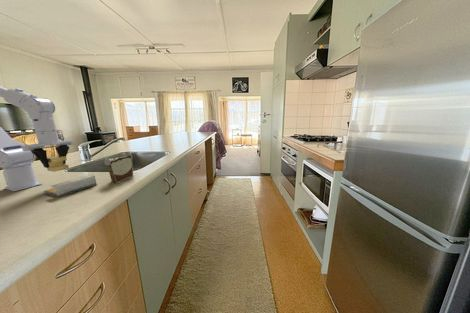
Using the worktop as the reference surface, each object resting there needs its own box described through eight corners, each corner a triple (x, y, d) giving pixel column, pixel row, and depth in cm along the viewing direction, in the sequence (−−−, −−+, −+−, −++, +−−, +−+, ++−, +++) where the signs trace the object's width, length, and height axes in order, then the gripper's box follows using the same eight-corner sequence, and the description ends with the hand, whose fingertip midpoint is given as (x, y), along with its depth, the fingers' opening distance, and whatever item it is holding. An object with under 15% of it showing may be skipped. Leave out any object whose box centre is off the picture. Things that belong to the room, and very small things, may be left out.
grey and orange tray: (44, 193, 66) (41, 183, 65) (81, 182, 77) (79, 173, 76) (59, 197, 62) (56, 186, 61) (96, 184, 73) (94, 175, 72)
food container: (124, 174, 86) (120, 153, 83) (135, 174, 84) (132, 153, 82) (100, 183, 74) (95, 160, 72) (113, 184, 73) (108, 160, 70)
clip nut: (47, 170, 71) (44, 158, 70) (61, 167, 75) (58, 155, 74) (54, 171, 69) (51, 158, 68) (68, 168, 73) (65, 156, 72)
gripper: (24, 133, 61) (35, 171, 64) (74, 129, 74) (82, 161, 77) (14, 133, 64) (25, 170, 67) (65, 129, 77) (72, 160, 80)
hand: (55, 165), depth 72 cm, fingers closed on clip nut, 4 cm apart
